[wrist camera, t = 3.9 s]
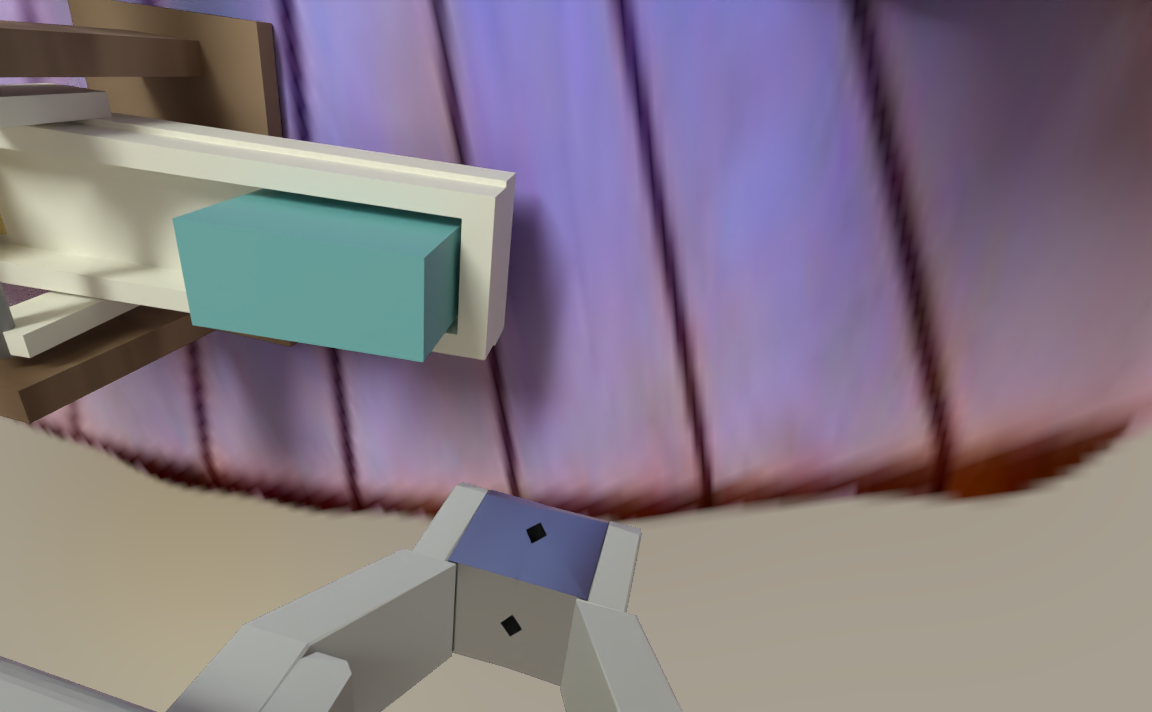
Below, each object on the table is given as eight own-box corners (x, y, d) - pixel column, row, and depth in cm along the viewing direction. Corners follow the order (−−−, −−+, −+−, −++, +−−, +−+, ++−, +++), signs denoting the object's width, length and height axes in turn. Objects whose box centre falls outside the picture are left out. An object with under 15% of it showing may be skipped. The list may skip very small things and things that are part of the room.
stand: (154, 306, 29) (-100, 408, 20) (86, -4, 23) (-317, -54, 14) (301, 339, 27) (103, 464, 19) (271, 23, 22) (-40, -12, 13)
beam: (-202, 235, 25) (-446, 285, 19) (-306, 23, 21) (-642, 9, 16) (502, 348, 24) (459, 435, 18) (518, 146, 20) (471, 177, 15)
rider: (276, 275, 21) (192, 324, 17) (266, 187, 20) (172, 218, 16) (464, 305, 21) (423, 362, 17) (468, 218, 20) (424, 257, 16)
